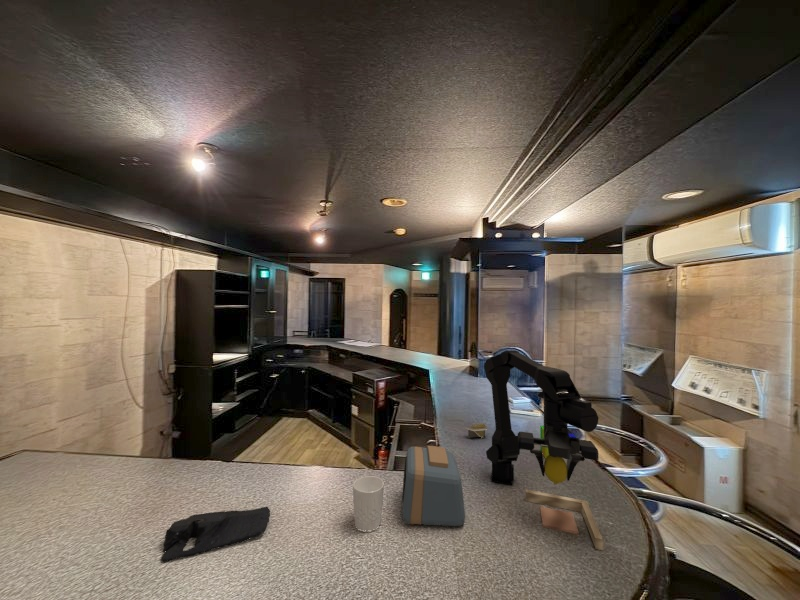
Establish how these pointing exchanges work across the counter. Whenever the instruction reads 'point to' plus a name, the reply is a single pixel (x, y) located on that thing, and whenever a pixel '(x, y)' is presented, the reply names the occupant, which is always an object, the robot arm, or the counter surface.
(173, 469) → the counter surface
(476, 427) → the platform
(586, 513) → the wooden corner frame
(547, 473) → the lemon
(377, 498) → the white cup
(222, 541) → the black flat piece
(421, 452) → the grey taped box
